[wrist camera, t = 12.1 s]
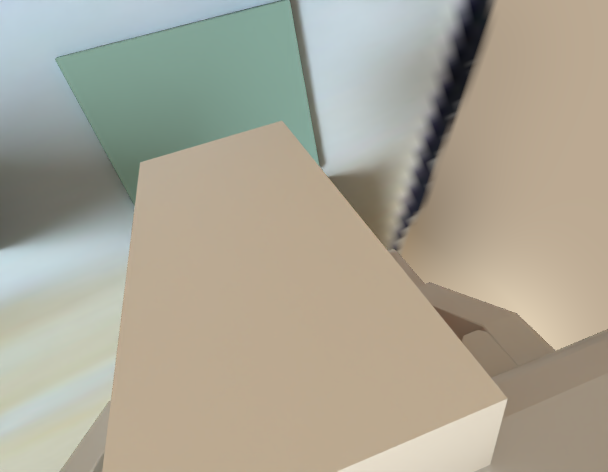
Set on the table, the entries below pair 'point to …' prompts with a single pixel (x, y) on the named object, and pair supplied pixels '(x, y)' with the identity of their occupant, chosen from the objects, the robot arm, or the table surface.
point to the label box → (281, 330)
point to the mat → (192, 86)
